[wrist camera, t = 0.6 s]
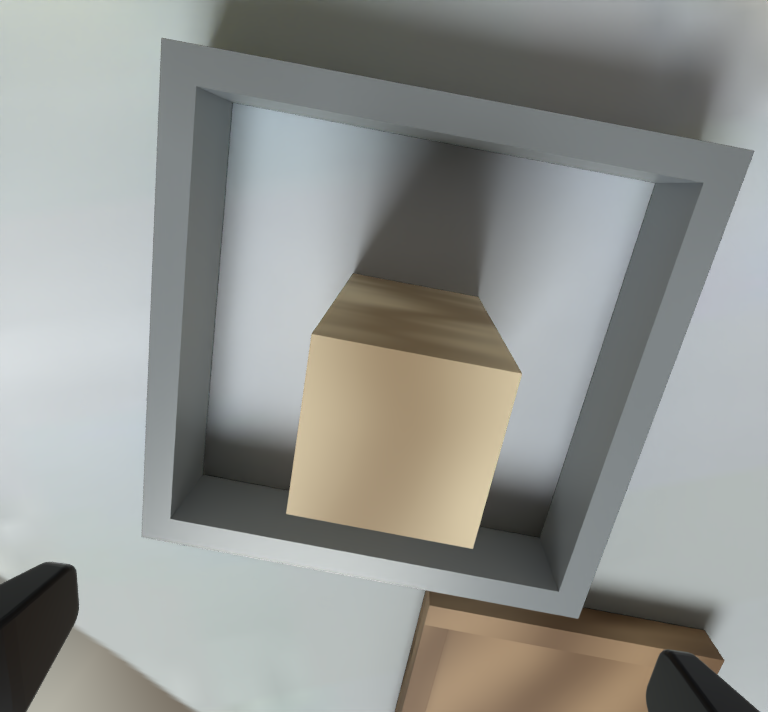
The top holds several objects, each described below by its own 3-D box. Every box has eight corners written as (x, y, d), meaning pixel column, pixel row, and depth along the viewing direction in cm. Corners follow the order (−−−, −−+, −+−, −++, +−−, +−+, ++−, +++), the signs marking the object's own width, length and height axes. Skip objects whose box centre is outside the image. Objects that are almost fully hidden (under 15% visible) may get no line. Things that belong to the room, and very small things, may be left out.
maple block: (477, 296, 19) (521, 373, 11) (450, 411, 20) (472, 548, 12) (353, 273, 19) (311, 334, 11) (334, 389, 20) (285, 514, 12)
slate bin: (696, 156, 17) (754, 150, 14) (556, 562, 22) (578, 618, 19) (204, 62, 17) (161, 37, 14) (177, 491, 22) (141, 537, 19)
